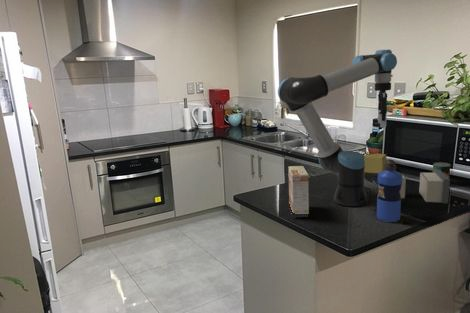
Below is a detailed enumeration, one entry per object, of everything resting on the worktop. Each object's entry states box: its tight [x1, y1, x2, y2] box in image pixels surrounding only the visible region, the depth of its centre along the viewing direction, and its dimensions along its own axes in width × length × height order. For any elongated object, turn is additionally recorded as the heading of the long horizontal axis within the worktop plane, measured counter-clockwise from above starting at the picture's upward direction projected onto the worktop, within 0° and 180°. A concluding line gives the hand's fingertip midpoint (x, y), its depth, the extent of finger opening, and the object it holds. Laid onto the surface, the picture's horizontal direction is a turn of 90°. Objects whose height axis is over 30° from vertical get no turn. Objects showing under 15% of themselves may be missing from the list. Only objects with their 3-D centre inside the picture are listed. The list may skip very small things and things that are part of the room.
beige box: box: [400, 173, 407, 199], centre depth 177 cm, size 9×6×10 cm
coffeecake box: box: [288, 165, 310, 215], centre depth 163 cm, size 15×7×20 cm, turn 178°
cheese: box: [364, 153, 387, 174], centre depth 221 cm, size 10×11×10 cm
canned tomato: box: [432, 161, 451, 179], centre depth 190 cm, size 8×8×11 cm
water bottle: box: [376, 159, 403, 223], centre depth 150 cm, size 9×9×25 cm
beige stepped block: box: [418, 170, 451, 204], centre depth 173 cm, size 9×16×11 cm, turn 166°
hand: (381, 125), depth 186 cm, fingers open, 13 cm apart
